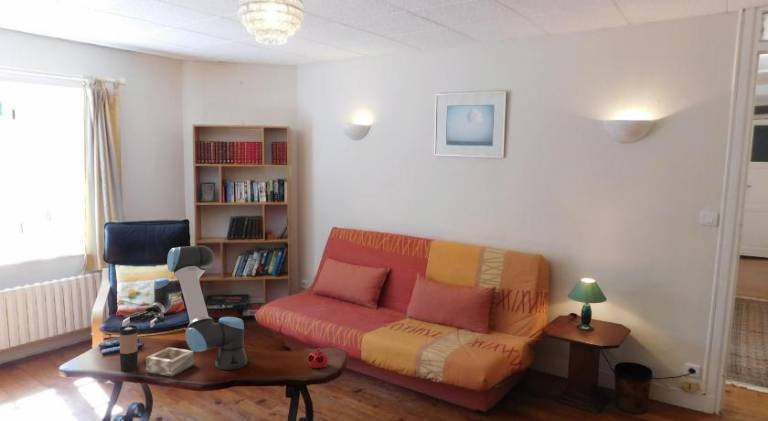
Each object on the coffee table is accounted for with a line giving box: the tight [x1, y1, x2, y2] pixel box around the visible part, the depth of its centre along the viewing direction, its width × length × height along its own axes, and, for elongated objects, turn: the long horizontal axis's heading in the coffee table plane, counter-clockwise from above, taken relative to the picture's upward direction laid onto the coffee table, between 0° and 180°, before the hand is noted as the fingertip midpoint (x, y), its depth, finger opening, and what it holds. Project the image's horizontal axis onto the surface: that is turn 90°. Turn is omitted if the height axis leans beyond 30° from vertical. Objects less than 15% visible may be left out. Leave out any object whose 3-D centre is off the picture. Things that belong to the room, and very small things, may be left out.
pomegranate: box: [307, 347, 329, 369], centre depth 251 cm, size 10×10×9 cm
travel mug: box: [119, 324, 139, 372], centre depth 242 cm, size 8×8×20 cm
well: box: [145, 346, 195, 377], centre depth 244 cm, size 15×15×7 cm
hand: (137, 324), depth 251 cm, fingers open, 13 cm apart
